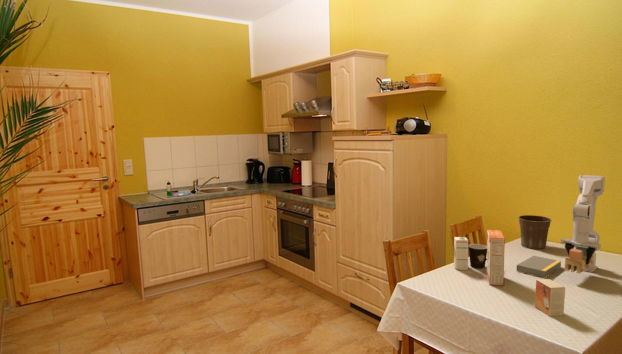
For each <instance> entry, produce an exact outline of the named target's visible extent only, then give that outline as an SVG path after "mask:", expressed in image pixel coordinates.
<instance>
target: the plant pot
mask: <svg viewBox="0 0 622 354" xmlns="http://www.w3.org/2000/svg"><path fill="white" fill-rule="evenodd" d="M518 220H519V221H518V222H519V224H518V225H519V228H520V245H521V246H523V247H525V248H528V249H532V250H534V249H535V250H539V249H541V250H542V249H545V248H546V247H547V240H548V235H549V230H550V229H549V228H550V227H551V222H552V219H551V218H550V217H547V216H544V215H542V216H541V215H535V214H534V215H531V214H524V215H519V216H518Z"/></svg>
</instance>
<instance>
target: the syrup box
mask: <svg viewBox="0 0 622 354" xmlns="http://www.w3.org/2000/svg"><path fill="white" fill-rule="evenodd" d="M453 239H454V240H453V244H454V246H453V251H454V252H453V266H454V269H455V270H461V271H468V270H469V247H468V246H469V239H468V238H467V237H464V236H454V237H453Z"/></svg>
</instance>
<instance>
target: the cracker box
mask: <svg viewBox="0 0 622 354" xmlns="http://www.w3.org/2000/svg"><path fill="white" fill-rule="evenodd" d="M486 235H487V236H486V237H487V238H486V239H487V240H486V241H487V242H486V246H487V256H486V259H487V260H486V276H487V280H488V284H489V286H500V287H505V286H504V285H505V283H504V282H505V247H506V246H505V244H506V243H505V242H506V241H505V239H506V238H505V237H504V235H503V233H502V231H501V230H497V229H487V233H486Z"/></svg>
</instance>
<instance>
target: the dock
mask: <svg viewBox="0 0 622 354" xmlns="http://www.w3.org/2000/svg"><path fill="white" fill-rule="evenodd" d="M560 268H562V260H557V259H552V258H548V257H541V256H537V255H532V256H531V257H529V258H526V259H525V260H523V261H522V262H519V263H517V264H516V272H519V273H523V274H526V275H527V274H528V275H530V274H531V275H530V276H535V275H536V277H539V276H540V277H539V278H543V277H546V276H547V277H549V276H550V275H551V273H552V274H553V273H554V272H556V271H557V270H559V269H560ZM548 275H549V276H548ZM547 277H546V278H547Z"/></svg>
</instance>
